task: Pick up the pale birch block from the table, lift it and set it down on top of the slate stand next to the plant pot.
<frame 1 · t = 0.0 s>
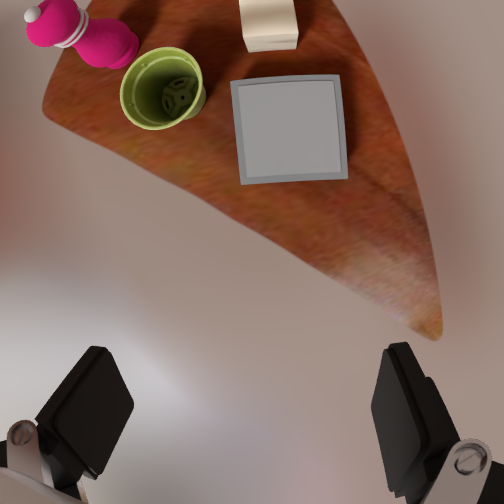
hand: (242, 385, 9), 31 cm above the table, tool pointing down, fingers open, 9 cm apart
plant pot: (184, 97, 34), on the table
birch block: (269, 31, 30), on the table
pepper mill: (121, 50, 32), on the table
slate stand: (289, 129, 35), on the table
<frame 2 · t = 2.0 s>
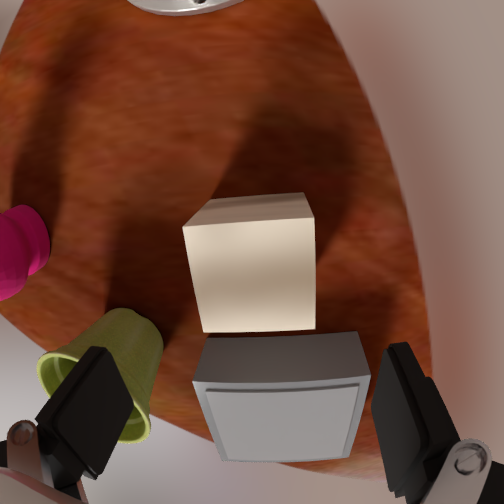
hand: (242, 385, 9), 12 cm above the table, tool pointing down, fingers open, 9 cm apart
plant pot: (133, 333, 24), on the table
birch block: (260, 239, 20), on the table
pepper mill: (29, 236, 22), on the table
slate stand: (284, 386, 25), on the table
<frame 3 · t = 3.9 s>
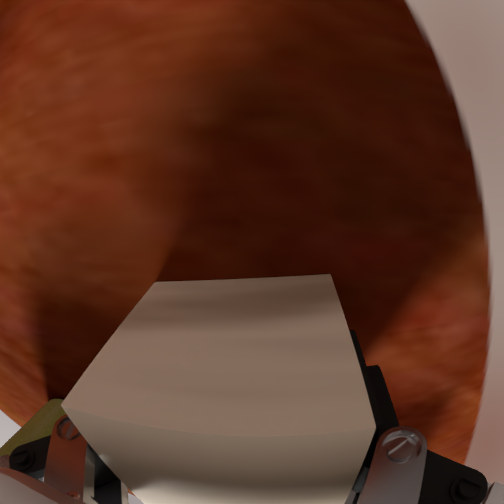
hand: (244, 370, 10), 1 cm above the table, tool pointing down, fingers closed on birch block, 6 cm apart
plant pot: (85, 425, 15), on the table
birch block: (247, 350, 11), on the table, touching gripper
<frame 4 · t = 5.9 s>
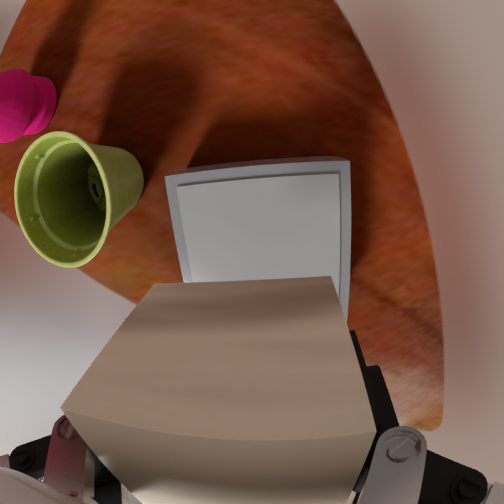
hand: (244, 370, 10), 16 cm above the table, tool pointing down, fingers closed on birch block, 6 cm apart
plant pot: (116, 179, 24), on the table
birch block: (247, 351, 11), point 15 cm above the table, touching gripper
pepper mill: (38, 105, 22), on the table
slate stand: (266, 232, 25), on the table
when the fingers open (7 cm above the table, at t = 8.0 s): birch block drops 1 cm, resting on slate stand.
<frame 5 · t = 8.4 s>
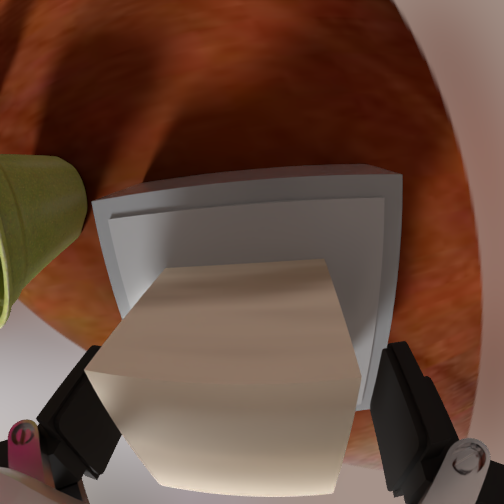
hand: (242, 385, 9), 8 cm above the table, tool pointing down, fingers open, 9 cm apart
plant pot: (56, 199, 16), on the table
birch block: (250, 331, 12), point 5 cm above the table, touching slate stand
slate stand: (259, 277, 17), on the table
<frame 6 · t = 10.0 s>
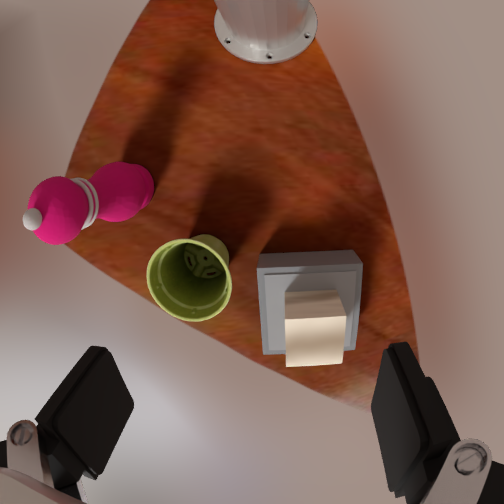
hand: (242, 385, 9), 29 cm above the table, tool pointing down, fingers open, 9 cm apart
plant pot: (206, 255, 39), on the table
birch block: (310, 313, 34), point 5 cm above the table, touching slate stand
pepper mill: (134, 186, 37), on the table
slate stand: (307, 294, 39), on the table
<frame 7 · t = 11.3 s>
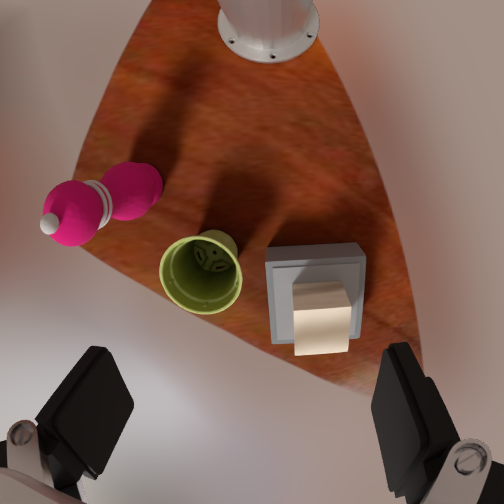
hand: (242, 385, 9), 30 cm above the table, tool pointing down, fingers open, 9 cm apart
plant pot: (215, 249, 41), on the table
birch block: (316, 304, 36), point 5 cm above the table, touching slate stand
pepper mill: (143, 185, 38), on the table
slate stand: (313, 285, 41), on the table
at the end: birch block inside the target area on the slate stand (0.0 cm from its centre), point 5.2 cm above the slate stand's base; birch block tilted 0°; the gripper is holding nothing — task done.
